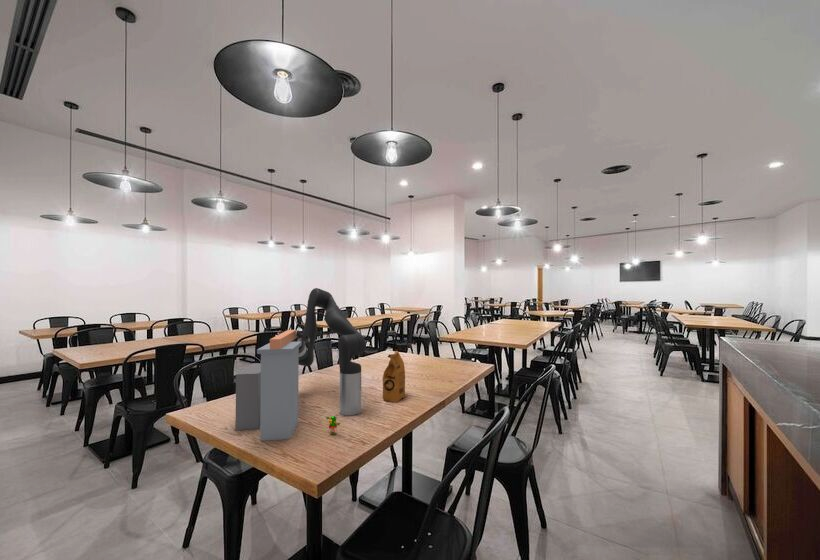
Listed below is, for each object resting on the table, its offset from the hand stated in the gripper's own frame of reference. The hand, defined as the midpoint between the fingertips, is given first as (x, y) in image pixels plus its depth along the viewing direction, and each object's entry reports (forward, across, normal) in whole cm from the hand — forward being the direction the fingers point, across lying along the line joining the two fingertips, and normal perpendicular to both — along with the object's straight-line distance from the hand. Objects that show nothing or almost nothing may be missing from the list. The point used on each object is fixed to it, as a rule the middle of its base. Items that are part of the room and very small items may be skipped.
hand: (289, 332), depth 136 cm
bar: (+5, 0, +7) cm, 9 cm away
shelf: (-17, -13, +31) cm, 37 cm away
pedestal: (-6, 0, +37) cm, 37 cm away
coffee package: (-33, +45, +22) cm, 60 cm away
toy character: (-2, +19, +40) cm, 44 cm away
